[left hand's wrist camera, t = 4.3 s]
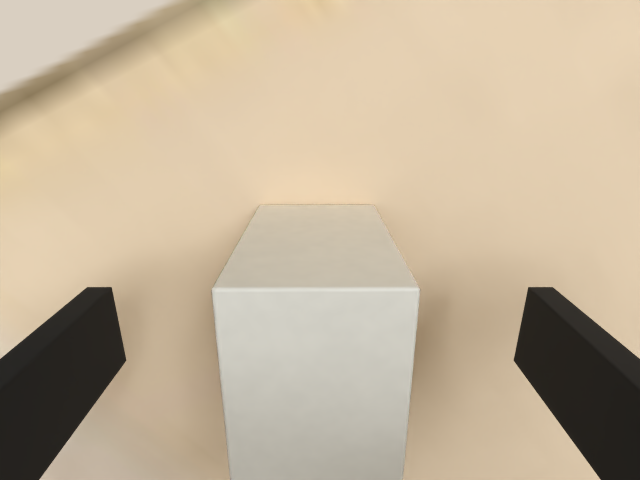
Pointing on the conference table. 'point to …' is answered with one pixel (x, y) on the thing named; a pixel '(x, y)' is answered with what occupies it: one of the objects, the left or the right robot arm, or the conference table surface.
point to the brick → (316, 346)
